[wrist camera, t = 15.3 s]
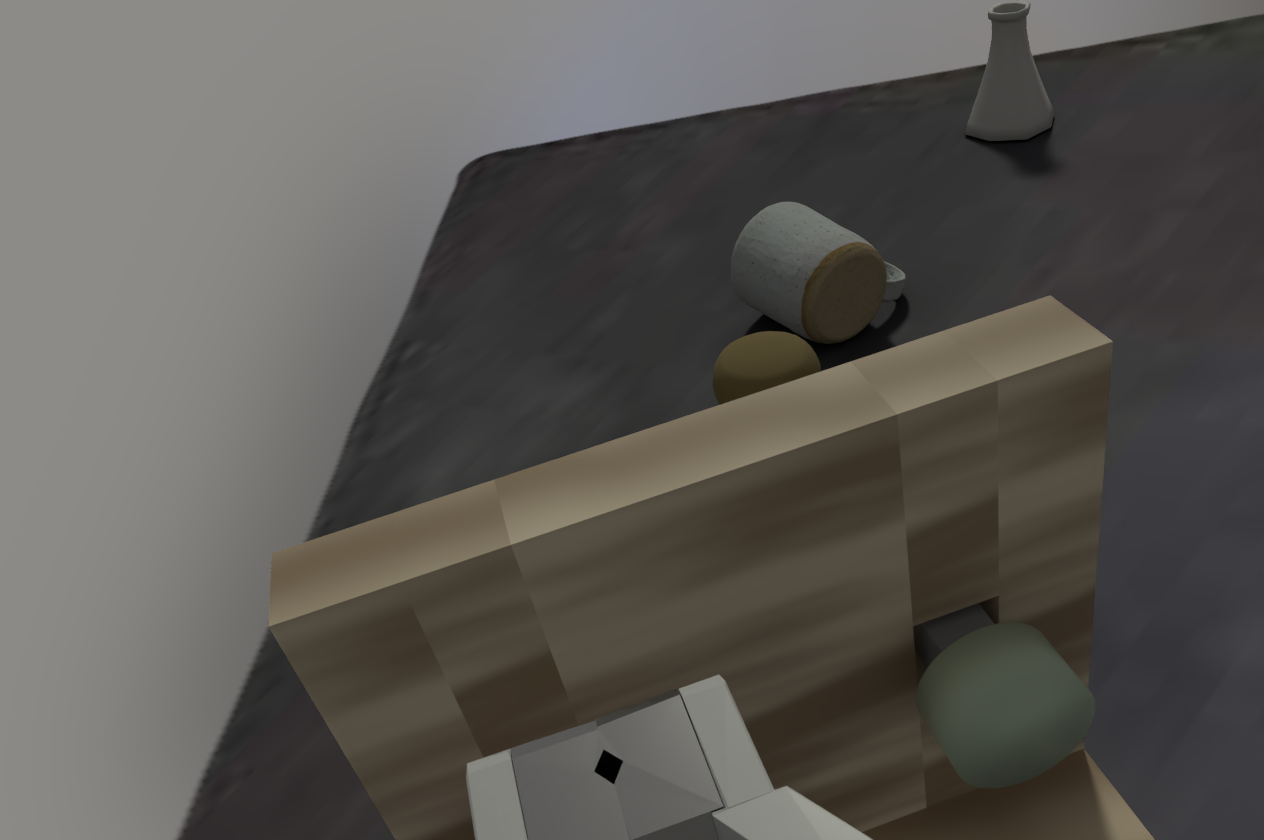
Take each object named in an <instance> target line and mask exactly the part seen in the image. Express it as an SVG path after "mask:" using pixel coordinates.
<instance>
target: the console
mask: <svg viewBox="0 0 1264 840" xmlns="http://www.w3.org/2000/svg"><path fill="white" fill-rule="evenodd" d="M1112 346H1113V341H1112V340H1110V339H1109V338H1107V337H1106V336H1105V335H1103V334H1102V333H1101V332H1099V331H1098V330H1097V329H1095V328H1094V327H1092V326H1091V325H1090V324H1088V323H1087V322H1086V321H1084V320H1083V319H1082V318H1080V317H1079V316H1077V315H1076V314H1075V313H1073V312H1072V311H1071V310H1069V309H1068V308H1067V307H1065V306H1064V305H1063V304H1061V303H1060V302H1058V301H1057V300H1056V299H1054V298H1053V297H1052V296H1047V297H1044V298H1041V299H1038V300H1035V301H1032V302H1029V303H1026V304H1023V305H1020V306H1017V307H1014V308H1011V309H1008V310H1005V311H1002V312H999V313H996V314H993V315H990V316H987V317H984V318H981V319H978V320H975V321H972V322H969V323H966V324H963V325H960V326H957V327H954V328H951V329H948V330H945V331H942V332H939V333H936V334H932V335H929V336H926V337H923V338H920V339H917V340H914V341H911V342H908V343H905V344H902V345H899V346H896V347H893V348H890V349H887V350H884V351H881V352H878V353H875V354H872V355H869V356H866V357H863V358H860V359H857V360H854V361H851V362H848V363H845V364H842V365H839V366H836V367H833V368H830V369H827V370H824V371H821V372H818V373H815V374H812V375H809V376H806V377H803V378H800V379H797V380H794V381H791V382H788V383H785V384H782V385H779V386H776V387H773V388H770V389H766V390H763V391H760V392H757V393H754V394H751V395H748V396H745V397H742V398H739V399H736V400H733V401H730V402H727V403H724V404H721V405H718V406H715V407H712V408H709V409H706V410H703V411H700V412H697V413H694V414H691V415H688V416H685V417H682V418H679V419H676V420H673V421H670V422H667V423H664V424H661V425H658V426H655V427H652V428H649V429H646V430H643V431H640V432H637V433H634V434H631V435H628V436H625V437H622V438H619V439H616V440H613V441H610V442H607V443H604V444H601V445H597V446H594V447H591V448H588V449H585V450H582V451H579V452H576V453H573V454H570V455H567V456H564V457H561V458H558V459H555V460H552V461H549V462H546V463H543V464H540V465H537V466H534V467H531V468H528V469H525V470H522V471H519V472H516V473H513V474H510V475H507V476H504V477H501V478H498V479H495V480H492V481H489V482H486V483H483V484H480V485H477V486H474V487H471V488H468V489H465V490H462V491H459V492H456V493H453V494H450V495H447V496H444V497H441V498H438V499H435V500H431V501H428V502H425V503H422V504H419V505H416V506H413V507H410V508H407V509H404V510H401V511H398V512H395V513H392V514H389V515H386V516H383V517H380V518H377V519H374V520H371V521H368V522H365V523H362V524H359V525H356V526H353V527H350V528H347V529H344V530H341V531H338V532H335V533H332V534H329V535H326V536H323V537H320V538H317V539H314V540H311V541H308V542H305V543H302V544H299V545H296V546H293V547H290V548H287V549H284V550H281V551H278V552H275V553H272V563H271V586H270V607H269V628H270V630H271V632H272V633H273V635H274V637H275V638H276V640H277V642H278V643H279V645H280V647H281V648H282V650H283V652H284V653H285V655H286V657H287V658H288V660H289V662H290V663H291V665H292V667H293V668H294V670H295V672H296V673H297V675H298V677H299V678H300V680H301V682H302V684H303V685H304V687H305V689H306V690H307V692H308V694H309V695H310V697H311V699H312V700H313V702H314V704H315V705H316V707H317V709H318V710H319V712H320V714H321V715H322V717H323V719H324V720H325V722H326V724H327V725H328V727H329V729H330V730H331V732H332V734H333V735H334V737H335V739H336V740H337V742H338V744H339V745H340V747H341V749H342V750H343V752H344V754H345V755H346V757H347V759H348V760H349V762H350V764H351V766H352V767H353V769H354V771H355V772H356V774H357V776H358V777H359V779H360V781H361V782H362V784H363V786H364V787H365V789H366V791H367V792H368V794H369V796H370V797H371V799H372V801H373V802H374V804H375V806H376V807H377V809H378V811H379V812H380V814H381V816H382V817H383V819H384V821H385V822H386V824H387V826H388V827H389V829H390V831H391V832H392V834H393V836H394V837H395V839H396V840H475V835H474V828H473V821H472V815H471V808H470V801H469V795H468V788H467V782H466V771H467V763H470V762H473V761H476V760H478V759H481V758H484V757H487V756H490V755H493V754H496V753H499V752H502V751H505V750H508V749H511V748H513V747H516V746H519V745H522V744H525V743H528V742H531V741H534V740H537V739H540V738H543V737H547V736H550V735H553V734H556V733H559V732H562V731H565V730H568V729H571V728H574V727H577V726H580V725H583V724H586V723H589V722H592V721H595V719H596V718H599V717H601V716H604V715H607V714H610V713H612V712H615V711H618V710H620V709H623V708H626V707H628V706H631V705H634V704H636V703H639V702H642V701H645V700H647V699H650V698H653V697H655V696H658V695H661V694H663V693H666V692H669V691H671V690H674V689H677V691H678V690H679V688H682V687H685V686H688V685H691V684H694V683H696V682H699V681H702V680H705V679H708V678H710V677H713V676H716V675H720V676H721V677H722V678H723V679H724V680H725V681H726V684H727V686H728V688H729V690H730V693H731V695H732V697H733V699H734V701H735V704H736V706H737V708H738V710H739V712H740V715H741V717H742V719H743V721H744V724H745V726H746V728H747V730H748V732H749V735H750V737H751V739H752V741H753V744H754V746H755V748H756V750H757V752H758V755H759V757H760V759H761V761H762V764H763V766H764V768H765V770H766V772H767V775H768V777H769V779H770V781H771V784H772V786H773V788H774V790H775V789H778V788H781V787H785V786H788V787H790V788H791V789H793V790H795V791H796V792H798V793H799V794H801V795H803V796H804V797H806V798H807V799H809V800H811V801H812V802H814V803H815V804H817V805H819V806H820V807H822V808H823V809H825V810H827V811H828V812H830V813H831V814H833V815H835V816H836V817H838V818H839V819H841V820H843V821H844V822H846V823H847V824H849V825H851V826H852V827H854V828H855V829H857V830H859V831H860V832H862V833H863V834H865V835H867V836H868V837H870V838H871V839H873V840H1154V838H1153V837H1152V836H1151V835H1150V833H1149V832H1148V831H1147V829H1146V828H1145V827H1144V826H1143V824H1142V823H1141V822H1140V820H1139V819H1138V818H1137V817H1136V815H1135V814H1134V813H1133V811H1132V810H1131V809H1130V808H1129V806H1128V805H1127V804H1126V802H1125V801H1124V800H1123V798H1122V797H1121V796H1120V795H1119V793H1118V792H1117V791H1116V789H1115V788H1114V787H1113V786H1112V784H1111V783H1110V782H1109V780H1108V779H1107V778H1106V777H1105V775H1104V774H1103V773H1102V771H1101V770H1100V769H1099V768H1098V766H1097V765H1096V764H1095V762H1094V761H1093V760H1092V759H1091V757H1090V756H1089V755H1088V753H1087V752H1086V751H1085V750H1084V738H1085V736H1084V738H1083V739H1082V740H1081V742H1080V743H1079V744H1078V745H1077V746H1076V747H1075V749H1074V750H1073V751H1072V752H1071V753H1069V754H1068V755H1067V756H1066V757H1065V758H1064V759H1063V760H1061V761H1060V762H1059V763H1058V764H1056V765H1055V766H1053V767H1052V768H1050V769H1049V770H1047V771H1045V772H1044V773H1042V774H1040V775H1038V776H1036V777H1034V778H1032V779H1029V780H1027V781H1025V782H1022V783H1019V784H1016V785H1012V786H1008V787H1002V788H991V789H989V788H979V787H975V786H972V785H970V784H968V783H966V782H965V781H963V780H962V779H961V778H960V776H959V775H958V774H957V772H956V770H955V769H954V767H953V766H952V764H951V763H950V761H949V759H948V758H947V756H946V755H945V753H944V752H943V750H942V748H941V747H940V745H939V744H938V742H937V741H936V739H935V737H934V736H933V734H932V733H931V731H930V729H929V728H928V726H927V725H926V723H925V722H924V720H923V718H922V717H921V715H920V714H919V712H918V709H917V706H916V692H917V688H918V685H919V682H920V680H921V678H922V676H923V674H924V673H925V671H926V670H927V666H926V665H925V663H924V662H923V660H922V659H921V657H920V656H919V654H918V653H917V651H916V650H915V646H914V633H913V626H915V625H918V624H921V623H924V622H927V621H929V620H932V619H935V618H938V617H940V616H943V615H946V614H949V613H952V612H954V611H957V610H960V609H963V608H966V607H968V606H971V605H974V604H977V603H979V605H980V606H981V607H982V608H983V610H984V611H985V612H986V614H987V615H988V616H989V617H990V619H991V620H992V621H993V622H994V624H998V623H1007V622H1017V623H1024V624H1027V625H1031V626H1033V627H1035V628H1036V629H1038V630H1039V631H1040V632H1041V633H1042V634H1043V635H1044V636H1045V638H1046V639H1047V640H1048V641H1049V642H1050V644H1051V645H1052V646H1053V647H1054V648H1055V650H1056V651H1057V652H1058V653H1059V654H1060V656H1061V657H1062V658H1063V659H1064V660H1065V662H1066V663H1067V664H1068V665H1069V666H1070V668H1071V669H1072V670H1073V671H1074V672H1075V674H1076V675H1077V676H1078V677H1079V679H1080V680H1081V681H1082V682H1083V683H1084V685H1085V686H1086V687H1087V688H1088V682H1089V668H1090V654H1091V640H1092V626H1093V612H1094V598H1095V584H1096V570H1097V556H1098V542H1099V528H1100V514H1101V500H1102V486H1103V472H1104V458H1105V444H1106V430H1107V416H1108V402H1109V388H1110V374H1111V360H1112Z"/></svg>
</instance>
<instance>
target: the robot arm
mask: <svg viewBox="0 0 1264 840" xmlns="http://www.w3.org/2000/svg"><path fill="white" fill-rule="evenodd" d="M466 782H467V788H468V795H469V801H470V808H471V815H472V821H473V828H474V835H475V840H873V839H871V838H870V837H868V836H867V835H865V834H863V833H862V832H860V831H859V830H857V829H855V828H854V827H852V826H851V825H849V824H847V823H846V822H844V821H843V820H841V819H839V818H838V817H836V816H835V815H833V814H831V813H830V812H828V811H827V810H825V809H823V808H822V807H820V806H819V805H817V804H815V803H814V802H812V801H811V800H809V799H807V798H806V797H804V796H803V795H801V794H799V793H798V792H796V791H795V790H793V789H791V788H790V787H788V786H785V787H781V788H778V789H775V790H774V788H773V786H772V784H771V781H770V779H769V777H768V775H767V772H766V770H765V768H764V766H763V764H762V761H761V759H760V757H759V755H758V752H757V750H756V748H755V746H754V744H753V741H752V739H751V737H750V735H749V732H748V730H747V728H746V726H745V724H744V721H743V719H742V717H741V715H740V712H739V710H738V708H737V706H736V704H735V701H734V699H733V697H732V695H731V693H730V690H729V688H728V686H727V684H726V681H725V680H724V679H723V678H722V677H721V676H720V675H716V676H713V677H710V678H708V679H705V680H702V681H699V682H696V683H694V684H691V685H688V686H685V687H682V688H679V690H678V691H677V689H674V690H671V691H669V692H666V693H663V694H661V695H658V696H655V697H653V698H650V699H647V700H645V701H642V702H639V703H636V704H634V705H631V706H628V707H626V708H623V709H620V710H618V711H615V712H612V713H610V714H607V715H604V716H601V717H599V718H596V719H595V721H592V722H589V723H586V724H583V725H580V726H577V727H574V728H571V729H568V730H565V731H562V732H559V733H556V734H553V735H550V736H547V737H543V738H540V739H537V740H534V741H531V742H528V743H525V744H522V745H519V746H516V747H513V748H511V749H508V750H505V751H502V752H499V753H496V754H493V755H490V756H487V757H484V758H481V759H478V760H476V761H473V762H470V763H467V771H466Z"/></svg>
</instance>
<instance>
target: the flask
mask: <svg viewBox="0 0 1264 840" xmlns="http://www.w3.org/2000/svg"><path fill="white" fill-rule="evenodd" d="M1029 9H1030V3H1029V2H1021V1H1013V2H1002V3H1000V4H997V5H995V6H993V7H990V9H989V12H988V18H989V19H990V20H992V41H991V47H990V52H989V58H988V62H987V66H986V69H985V72H984V75H983V79H982V82H981V85H980V89H979V92H978V95H977V98H976V101H975V103H974V106H973V109H972V112H971V115H970V118H969V121H968V124H967V127H966V130H965V134H966V135H969V136H973V137H977V138H980V139H984V140H988V141H1005V140H1026V139H1029V138H1031V137H1033V136H1035V135H1037V134H1039V133H1041V132H1043V131H1045V130H1047V129H1048V128H1050V127H1052V121H1053V116H1054V112H1053V109H1052V106H1051V104H1050V101H1049V99H1048V96H1047V94H1046V91H1045V89H1044V86H1043V84H1042V82H1041V79H1040V76H1039V74H1038V71H1037V68H1036V65H1035V62H1034V60H1033V57H1032V54H1031V51H1030V46H1029V41H1028V35H1027V29H1026V16H1027V15H1028V13H1029Z"/></svg>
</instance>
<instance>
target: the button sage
mask: <svg viewBox="0 0 1264 840" xmlns="http://www.w3.org/2000/svg"><path fill="white" fill-rule="evenodd" d="M913 633H914V646H915V650H916V651H917V653H918V654H919V656H920V657H921V659H922V660H923V662H924V663H925V665H926V666H927V670H926V671H925V673H924V674H923V676H922V678H921V680H920V682H919V685H918V688H917V692H916V706H917V709H918V712H919V714H920V715H921V717H922V718H923V720H924V722H925V723H926V725H927V726H928V728H929V729H930V731H931V733H932V734H933V736H934V737H935V739H936V741H937V742H938V744H939V745H940V747H941V748H942V750H943V752H944V753H945V755H946V756H947V758H948V759H949V761H950V763H951V764H952V766H953V767H954V769H955V770H956V772H957V774H958V775H959V776H960V778H961V779H962V780H963V781H965V782H966V783H968V784H970V785H972V786H975V787H979V788H989V789H991V788H1002V787H1008V786H1012V785H1016V784H1019V783H1022V782H1025V781H1027V780H1029V779H1032V778H1034V777H1036V776H1038V775H1040V774H1042V773H1044V772H1045V771H1047V770H1049V769H1050V768H1052V767H1053V766H1055V765H1056V764H1058V763H1059V762H1060V761H1061V760H1063V759H1064V758H1065V757H1066V756H1067V755H1068V754H1069V753H1071V752H1072V751H1073V750H1074V749H1075V747H1076V746H1077V745H1078V744H1079V743H1080V742H1081V740H1082V739H1083V738H1084V736H1085V735H1086V733H1087V732H1088V730H1089V728H1090V726H1091V724H1092V721H1093V718H1094V714H1095V701H1094V697H1093V695H1092V693H1091V692H1090V691H1089V689H1088V688H1087V687H1086V686H1085V685H1084V683H1083V682H1082V681H1081V680H1080V679H1079V677H1078V676H1077V675H1076V674H1075V672H1074V671H1073V670H1072V669H1071V668H1070V666H1069V665H1068V664H1067V663H1066V662H1065V660H1064V659H1063V658H1062V657H1061V656H1060V654H1059V653H1058V652H1057V651H1056V650H1055V648H1054V647H1053V646H1052V645H1051V644H1050V642H1049V641H1048V640H1047V639H1046V638H1045V636H1044V635H1043V634H1042V633H1041V632H1040V631H1039V630H1038V629H1036V628H1035V627H1033V626H1031V625H1027V624H1024V623H1017V622H1007V623H998V624H994V622H993V621H992V620H991V619H990V617H989V616H988V615H987V614H986V612H985V611H984V610H983V608H982V607H981V606H980V605H979V603H977V604H974V605H971V606H968V607H966V608H963V609H960V610H957V611H954V612H952V613H949V614H946V615H943V616H940V617H938V618H935V619H932V620H929V621H927V622H924V623H921V624H918V625H915V626H913Z"/></svg>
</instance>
